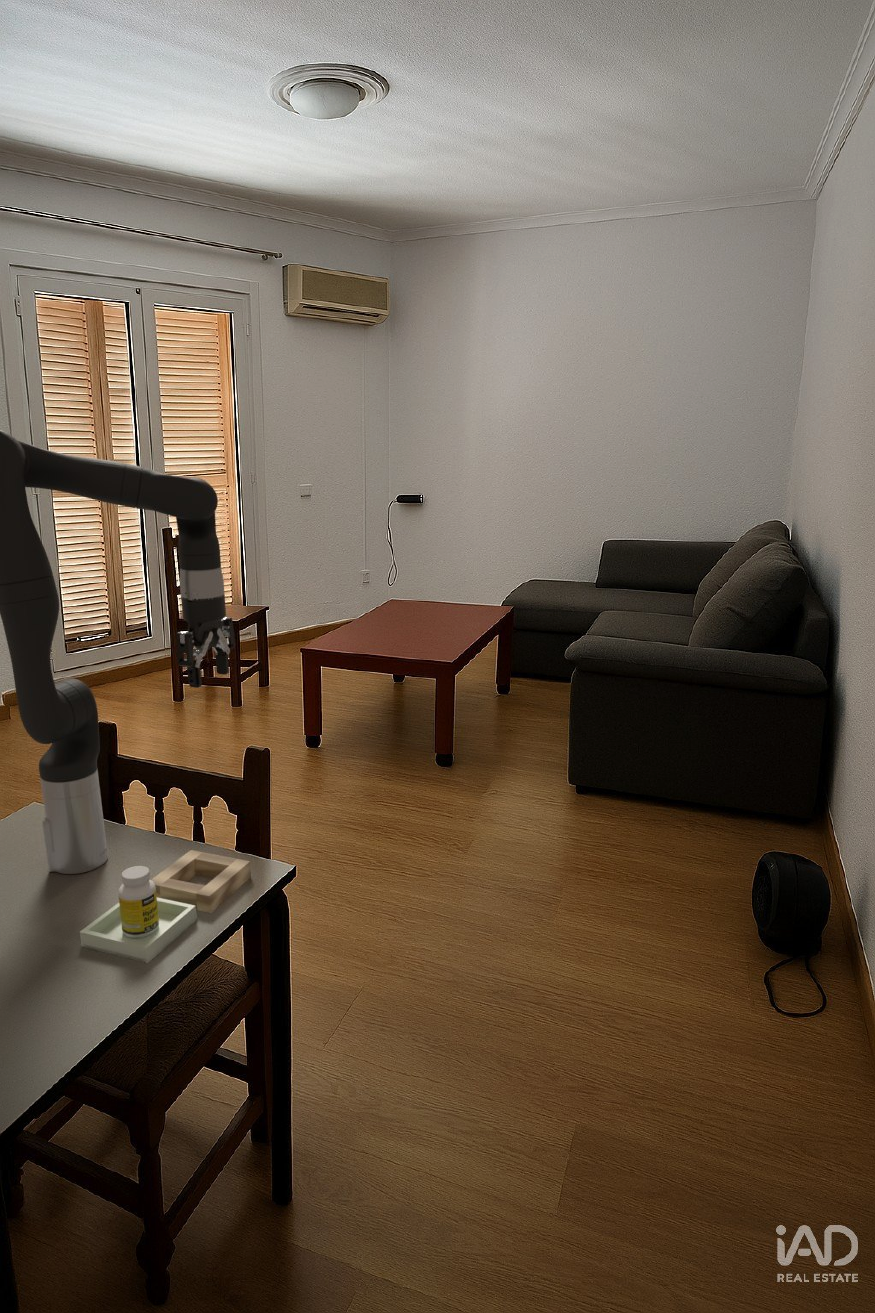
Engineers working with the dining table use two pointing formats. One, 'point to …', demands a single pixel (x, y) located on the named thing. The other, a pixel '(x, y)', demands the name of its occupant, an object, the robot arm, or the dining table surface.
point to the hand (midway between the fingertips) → (209, 680)
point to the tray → (111, 939)
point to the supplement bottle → (138, 903)
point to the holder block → (221, 868)
